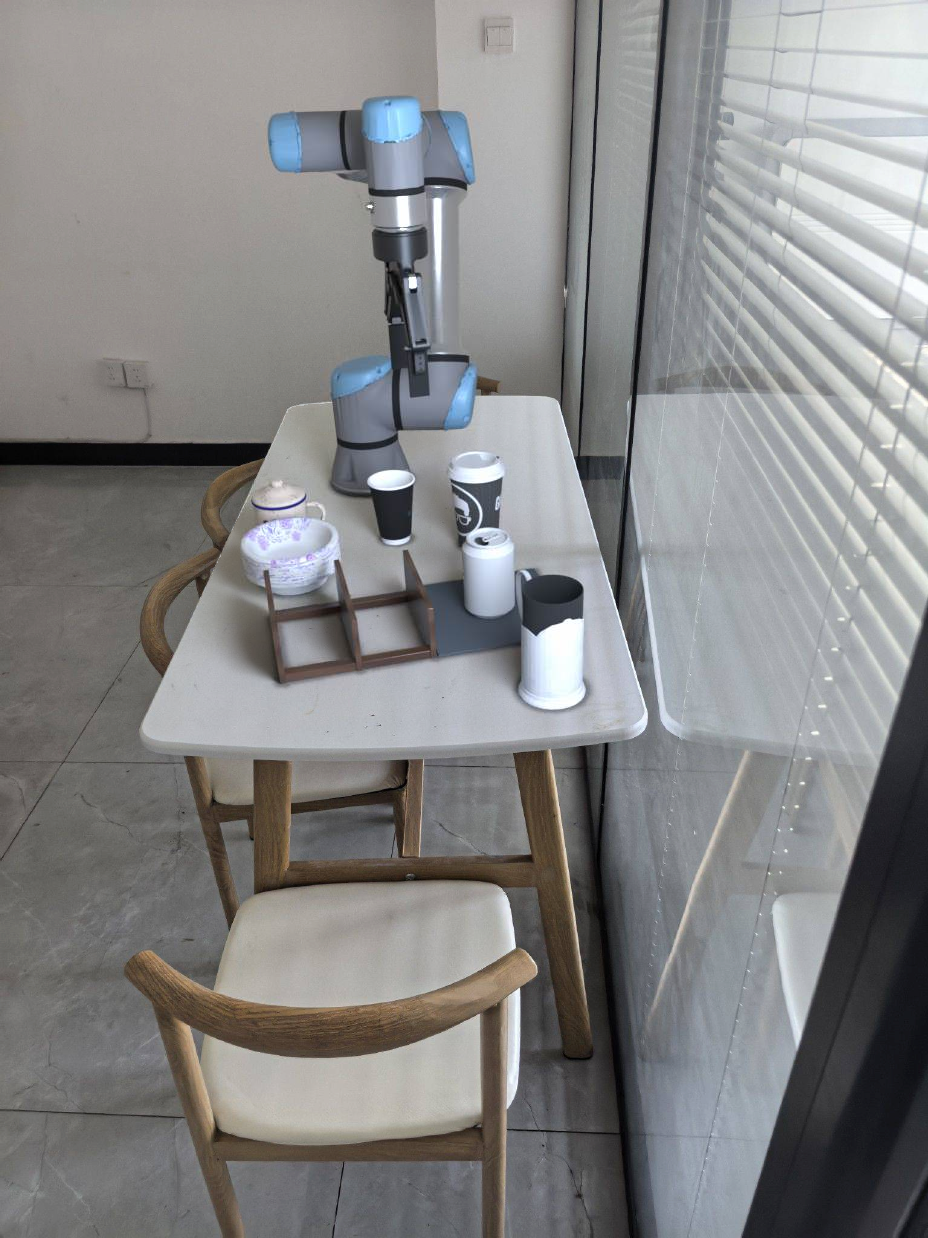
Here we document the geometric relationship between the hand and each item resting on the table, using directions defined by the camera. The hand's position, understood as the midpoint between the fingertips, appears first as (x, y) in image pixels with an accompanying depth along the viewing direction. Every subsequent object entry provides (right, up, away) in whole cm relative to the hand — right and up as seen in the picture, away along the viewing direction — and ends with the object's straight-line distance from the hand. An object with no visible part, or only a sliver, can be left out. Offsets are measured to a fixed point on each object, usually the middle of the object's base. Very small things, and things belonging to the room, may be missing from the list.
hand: (409, 381), depth 141 cm
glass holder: (+18, -43, -13) cm, 48 cm away
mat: (+12, -34, +2) cm, 36 cm away
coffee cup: (+10, -22, +21) cm, 32 cm away
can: (+12, -33, +2) cm, 35 cm away
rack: (-8, -37, -3) cm, 38 cm away
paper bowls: (-19, -29, +12) cm, 37 cm away
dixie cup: (-4, -21, +24) cm, 32 cm away
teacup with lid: (-21, -22, +24) cm, 39 cm away
